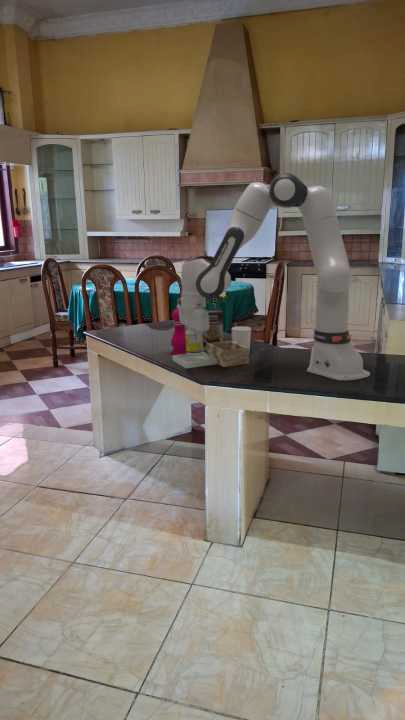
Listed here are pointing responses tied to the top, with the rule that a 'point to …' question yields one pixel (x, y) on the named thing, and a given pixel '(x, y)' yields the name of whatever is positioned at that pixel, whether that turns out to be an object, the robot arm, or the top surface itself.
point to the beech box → (228, 353)
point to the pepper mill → (178, 335)
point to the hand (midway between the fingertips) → (194, 338)
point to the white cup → (242, 336)
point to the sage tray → (194, 360)
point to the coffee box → (213, 328)
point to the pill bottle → (193, 341)
